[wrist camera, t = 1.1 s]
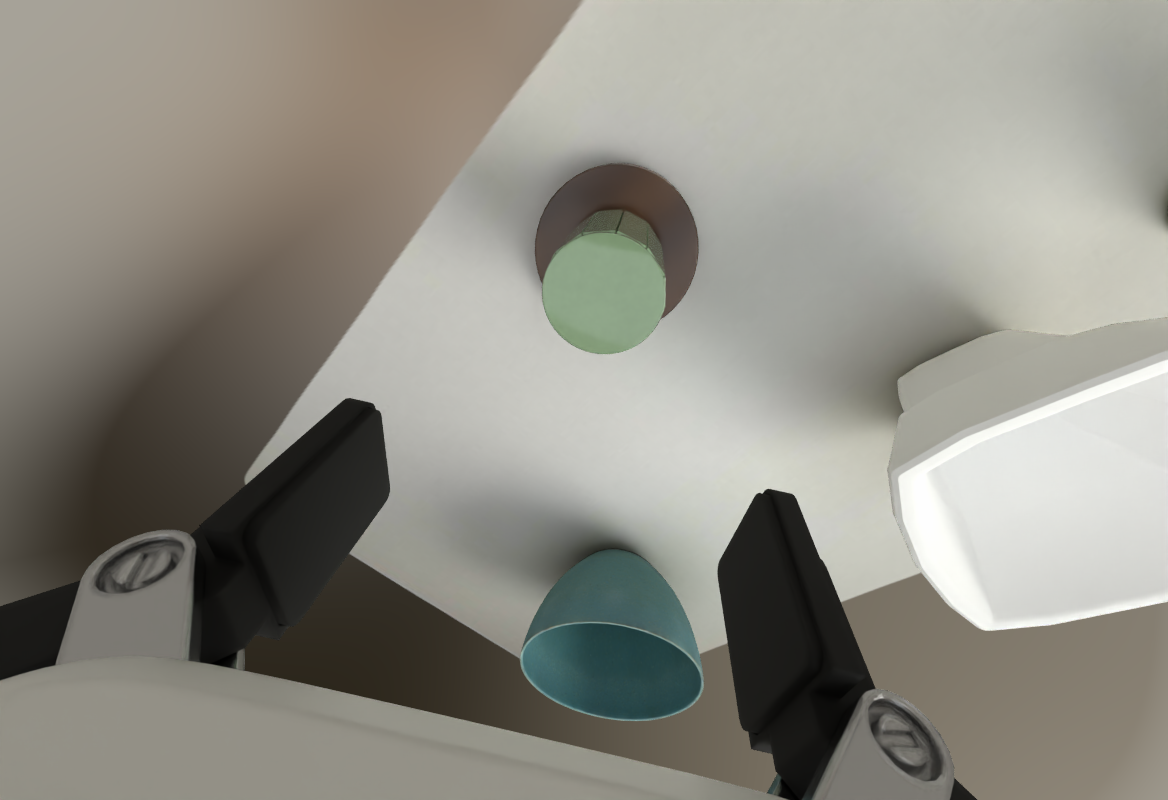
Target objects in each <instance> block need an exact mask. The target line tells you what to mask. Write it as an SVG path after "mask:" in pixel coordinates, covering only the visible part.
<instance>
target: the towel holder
mask: <svg viewBox="0 0 1168 800" xmlns="http://www.w3.org/2000/svg"><path fill="white" fill-rule="evenodd" d="M619 209H623V213H624V210H627V211H629V212H631V213H632V214H634V215H636V216H638V217H640V218H642V219H644V220H646V221H647V224H648V223H649V224H650V226H651V227H652V229H653V231H654V233H655V234H656V236H657V238H658V239H659V241H660V243H661V246H662V251H663V260H664V269H665V277H666V286H665V292H666V297H665V308H664V312H663V313H662V316H661V319H662V318H663V317H665V316H666V315H667V314H668V313H669V312H670V311H672V310H673V309H674V308H675V306H676V305H677V304H678V303H679V302H680V301H681V299H682V298H683V296H684V295H685V294H686V292H687V290H688V288H689V286H690V284H691V282H692V279H693V277H694V274H695V270H696V266H697V260H698V236H697V229H696V226H695V222H694V219H693V216H692V214H691V212H690V209H689V207H688V205H687V204H686V202H685V201H684V199H683V197H682V196H681V194H680V193H679V192H678V191H677V190H676V188H675V187H674V186H673V185H672V184H671V183H669V182H668V181H667V180H666V179H665V178H663V177H662V176H660V175H659V174H657V173H656V172H653V171H651V170H649V169H647V168H644V167H641V166H637V165H633V164H626V163H611V164H605V165H600V166H597V167H594V168H591V169H588V170H586V171H584V172H582V173H580V174H578V175H576V176H575V177H573V178H572V179H571V180H569V181H568V182H566V183H565V184H564V185H563V186H562V187H561V188H560V189H559V190H558V191H557V192H556V193H555V195H554V196H553V197H552V198H551V200H550V201H549V203H548V205H547V206H546V208H545V210H544V212H543V214H542V217H541V219H540V222H539V225H538V229H537V234H536V240H535V258H536V265H537V270H538V274H539V277H540V280H541V282H542V284H543V279H544V276H545V272H546V270H547V268H548V265H549V263H550V262H551V259H552V257H553V254H554V253H555V252H556V250H557V249H558V248H559V247H560V246H561V244H562V243H563V242H564V241H565V240H566V238H567V237H568V236H569V235H570V233H571V232H572V231H573V230H574V229H575V227H576V226H578V225H579V224H580V223H582V222H583V221H584V220H586V219H587V218H588V217H590V216H591V215H592V214H594V213H595V212H598V211H606V210H619Z"/></svg>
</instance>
